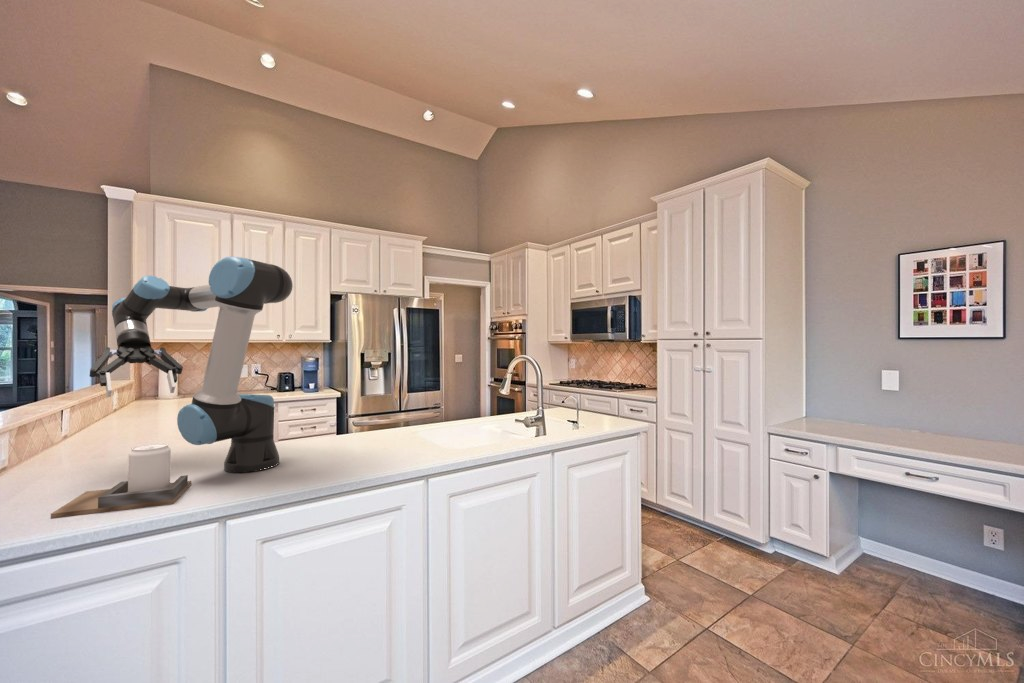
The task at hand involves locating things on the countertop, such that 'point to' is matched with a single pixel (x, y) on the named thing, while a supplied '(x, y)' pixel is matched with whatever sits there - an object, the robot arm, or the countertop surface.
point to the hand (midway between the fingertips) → (142, 391)
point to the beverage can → (149, 467)
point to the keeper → (122, 499)
